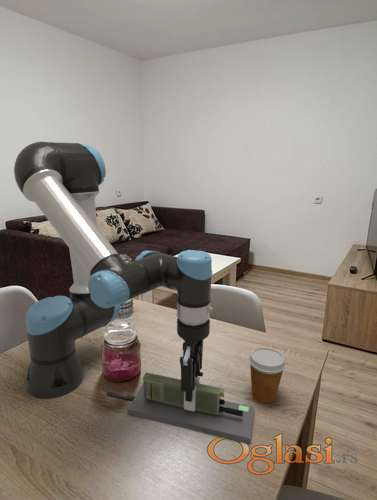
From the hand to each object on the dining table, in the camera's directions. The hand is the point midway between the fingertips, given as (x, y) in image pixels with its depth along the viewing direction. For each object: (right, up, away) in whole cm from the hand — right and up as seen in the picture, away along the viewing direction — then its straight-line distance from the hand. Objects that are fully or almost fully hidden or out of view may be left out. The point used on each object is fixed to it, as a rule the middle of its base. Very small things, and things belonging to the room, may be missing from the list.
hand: (191, 404), depth 81 cm
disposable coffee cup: (+20, -1, +8) cm, 21 cm away
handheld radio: (0, -1, 0) cm, 1 cm away
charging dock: (-4, -2, +2) cm, 5 cm away
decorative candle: (-27, +12, +50) cm, 58 cm away
